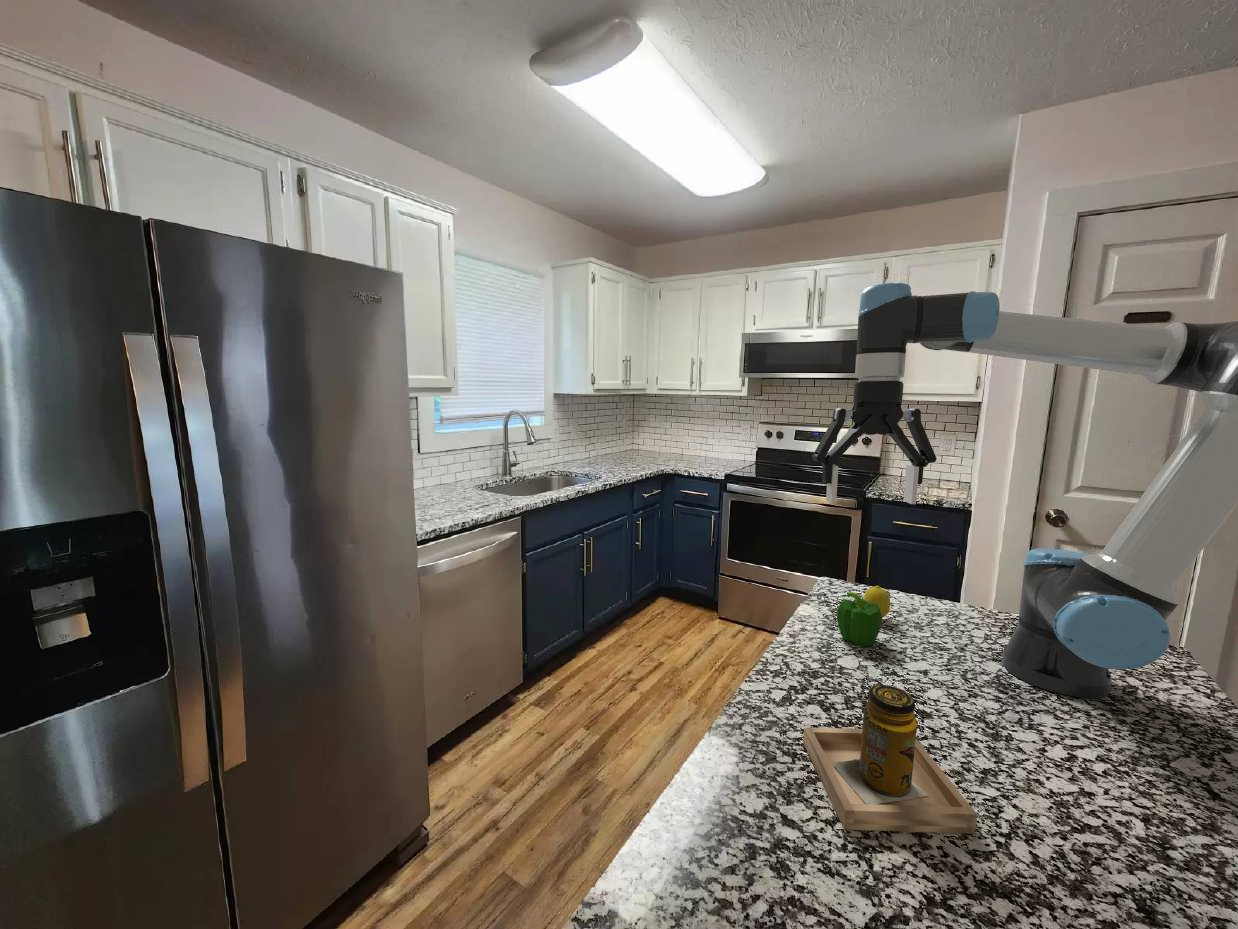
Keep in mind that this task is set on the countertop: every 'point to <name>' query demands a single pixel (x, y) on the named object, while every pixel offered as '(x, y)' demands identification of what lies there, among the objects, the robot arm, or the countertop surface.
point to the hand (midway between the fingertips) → (870, 502)
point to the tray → (922, 814)
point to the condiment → (885, 749)
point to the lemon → (878, 599)
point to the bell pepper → (859, 620)
